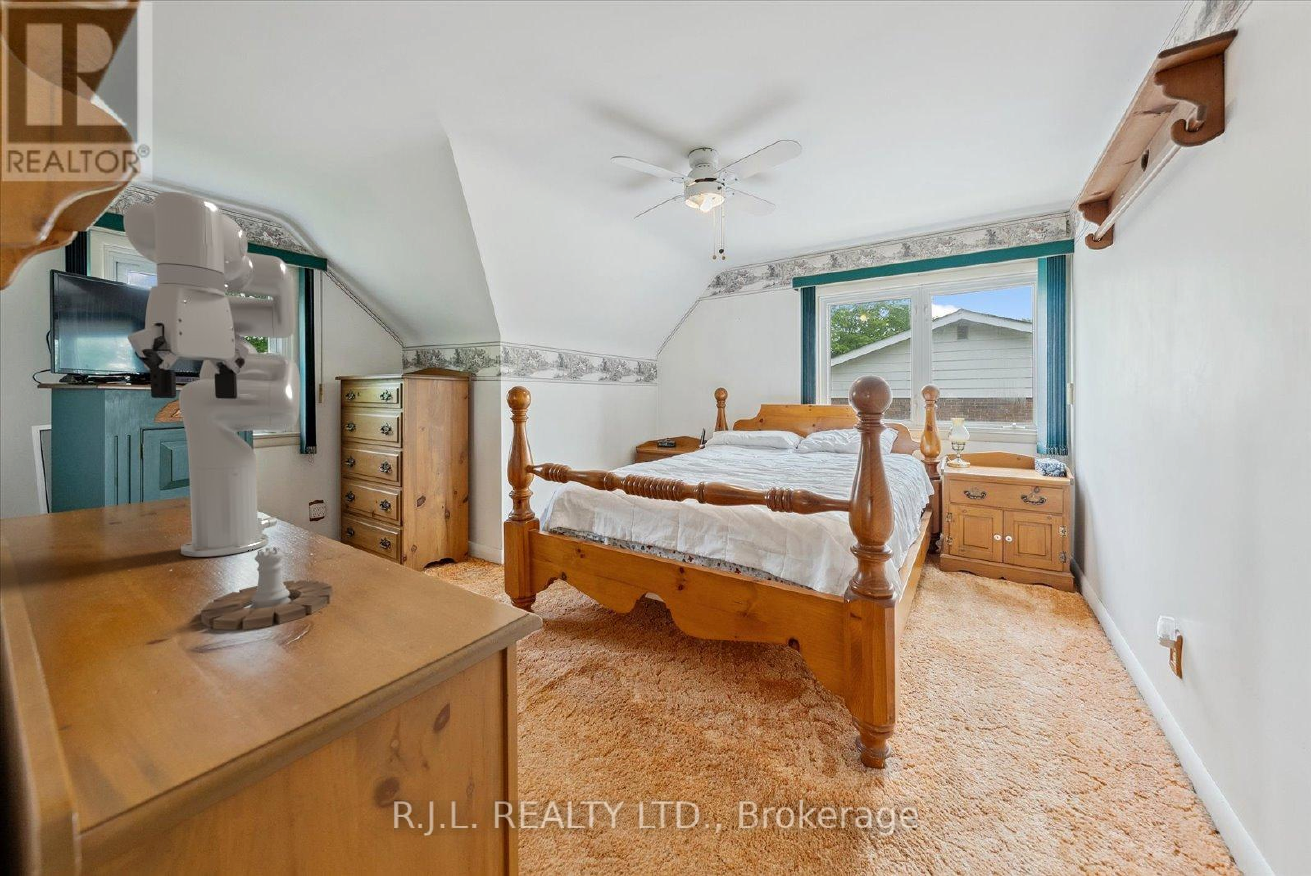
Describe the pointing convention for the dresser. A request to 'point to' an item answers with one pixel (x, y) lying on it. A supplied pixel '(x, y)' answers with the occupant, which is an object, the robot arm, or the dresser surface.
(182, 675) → the dresser surface
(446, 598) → the dresser surface
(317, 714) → the dresser surface
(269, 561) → the rook chess piece
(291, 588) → the walnut ring
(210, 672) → the dresser surface
